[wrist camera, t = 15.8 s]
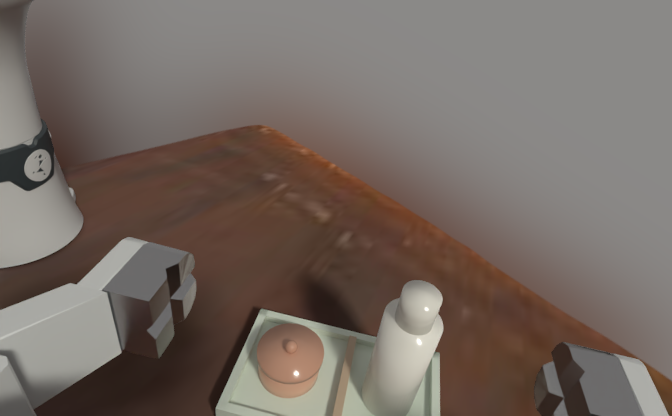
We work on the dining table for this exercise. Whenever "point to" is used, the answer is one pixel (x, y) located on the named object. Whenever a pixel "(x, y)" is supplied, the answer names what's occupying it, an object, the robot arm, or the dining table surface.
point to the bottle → (403, 350)
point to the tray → (333, 378)
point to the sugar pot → (289, 360)
